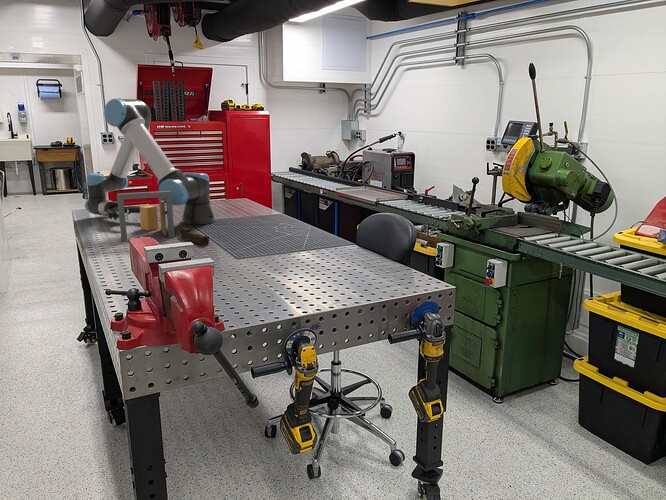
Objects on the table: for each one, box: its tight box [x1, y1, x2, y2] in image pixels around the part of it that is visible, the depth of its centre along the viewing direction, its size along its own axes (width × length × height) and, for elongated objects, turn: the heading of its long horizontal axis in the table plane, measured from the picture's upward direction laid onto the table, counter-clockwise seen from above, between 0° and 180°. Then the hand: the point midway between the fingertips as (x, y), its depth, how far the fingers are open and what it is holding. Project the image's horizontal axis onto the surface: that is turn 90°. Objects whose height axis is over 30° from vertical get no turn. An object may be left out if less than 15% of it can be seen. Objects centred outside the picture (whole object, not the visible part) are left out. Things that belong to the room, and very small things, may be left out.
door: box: [158, 197, 168, 236], centre depth 214 cm, size 14×3×14 cm, turn 22°
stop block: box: [139, 204, 159, 231], centre depth 221 cm, size 5×5×10 cm
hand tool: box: [180, 226, 210, 247], centre depth 203 cm, size 19×4×5 cm, turn 42°
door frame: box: [116, 190, 175, 242], centre depth 203 cm, size 20×2×19 cm, turn 119°
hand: (140, 214), depth 223 cm, fingers open, 13 cm apart
